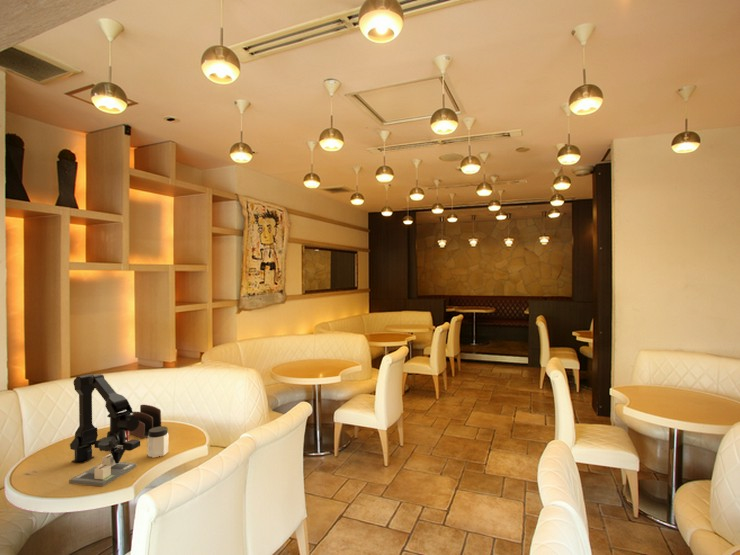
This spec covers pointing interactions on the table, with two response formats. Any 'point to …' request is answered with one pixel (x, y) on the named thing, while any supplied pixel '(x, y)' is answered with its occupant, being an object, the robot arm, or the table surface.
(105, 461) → the tab far
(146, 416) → the letter holder
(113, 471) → the switch board
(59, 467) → the table surface
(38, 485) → the table surface
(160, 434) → the jar
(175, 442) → the table surface
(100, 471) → the tab near
